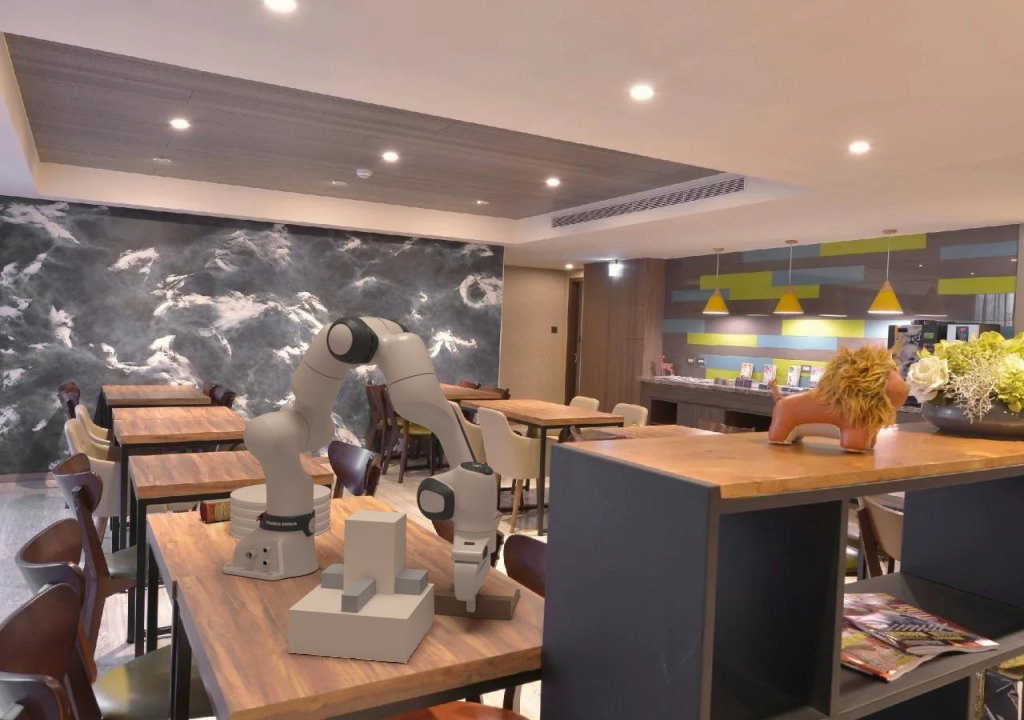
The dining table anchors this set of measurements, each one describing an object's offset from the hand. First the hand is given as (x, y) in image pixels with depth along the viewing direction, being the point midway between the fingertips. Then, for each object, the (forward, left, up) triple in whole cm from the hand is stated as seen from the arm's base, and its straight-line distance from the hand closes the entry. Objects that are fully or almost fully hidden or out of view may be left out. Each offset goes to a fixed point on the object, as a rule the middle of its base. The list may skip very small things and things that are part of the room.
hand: (473, 607), depth 152 cm
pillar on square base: (-18, -16, -2) cm, 24 cm away
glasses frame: (0, +6, -2) cm, 7 cm away
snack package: (-88, +64, -2) cm, 108 cm away
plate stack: (-68, +53, -2) cm, 86 cm away
